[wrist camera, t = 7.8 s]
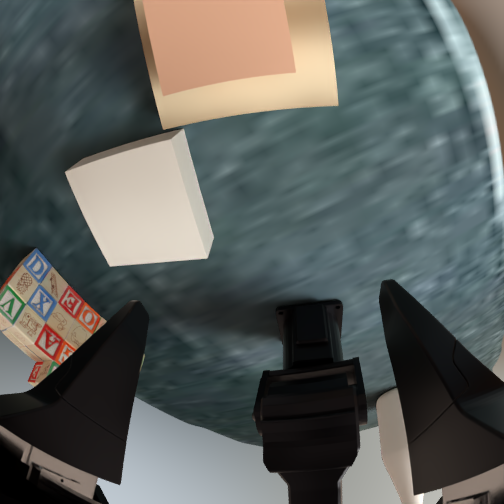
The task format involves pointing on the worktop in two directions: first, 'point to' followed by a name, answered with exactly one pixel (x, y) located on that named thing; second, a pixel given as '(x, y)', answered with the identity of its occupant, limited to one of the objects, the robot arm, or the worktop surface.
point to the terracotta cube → (217, 41)
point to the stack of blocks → (44, 315)
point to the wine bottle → (395, 446)
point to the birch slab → (263, 87)
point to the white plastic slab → (144, 201)
